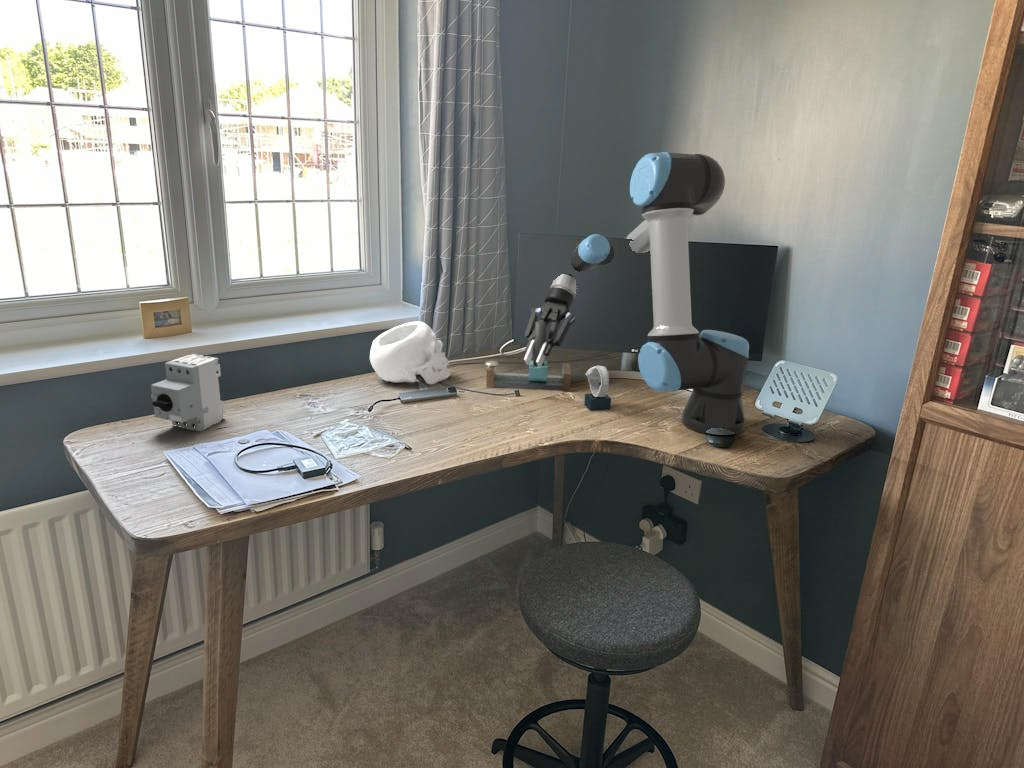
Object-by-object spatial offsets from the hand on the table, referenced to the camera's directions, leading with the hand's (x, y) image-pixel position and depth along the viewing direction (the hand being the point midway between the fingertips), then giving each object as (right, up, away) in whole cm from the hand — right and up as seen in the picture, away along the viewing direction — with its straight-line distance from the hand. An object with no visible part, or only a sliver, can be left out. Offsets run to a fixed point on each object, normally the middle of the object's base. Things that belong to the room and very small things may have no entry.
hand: (532, 363), depth 192 cm
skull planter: (-34, -5, +4) cm, 34 cm away
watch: (+16, -12, -10) cm, 23 cm away
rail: (-1, -6, +6) cm, 8 cm away
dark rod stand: (+2, -4, +5) cm, 7 cm away
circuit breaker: (-78, -16, -34) cm, 87 cm away
